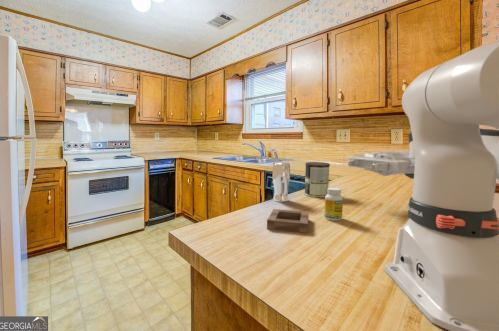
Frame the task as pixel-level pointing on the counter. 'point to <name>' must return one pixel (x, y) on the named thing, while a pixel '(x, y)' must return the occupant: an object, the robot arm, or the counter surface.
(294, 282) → the counter surface
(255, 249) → the counter surface
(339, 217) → the supplement bottle
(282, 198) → the beer glass
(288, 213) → the bottle holder
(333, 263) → the counter surface
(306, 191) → the coffee can
